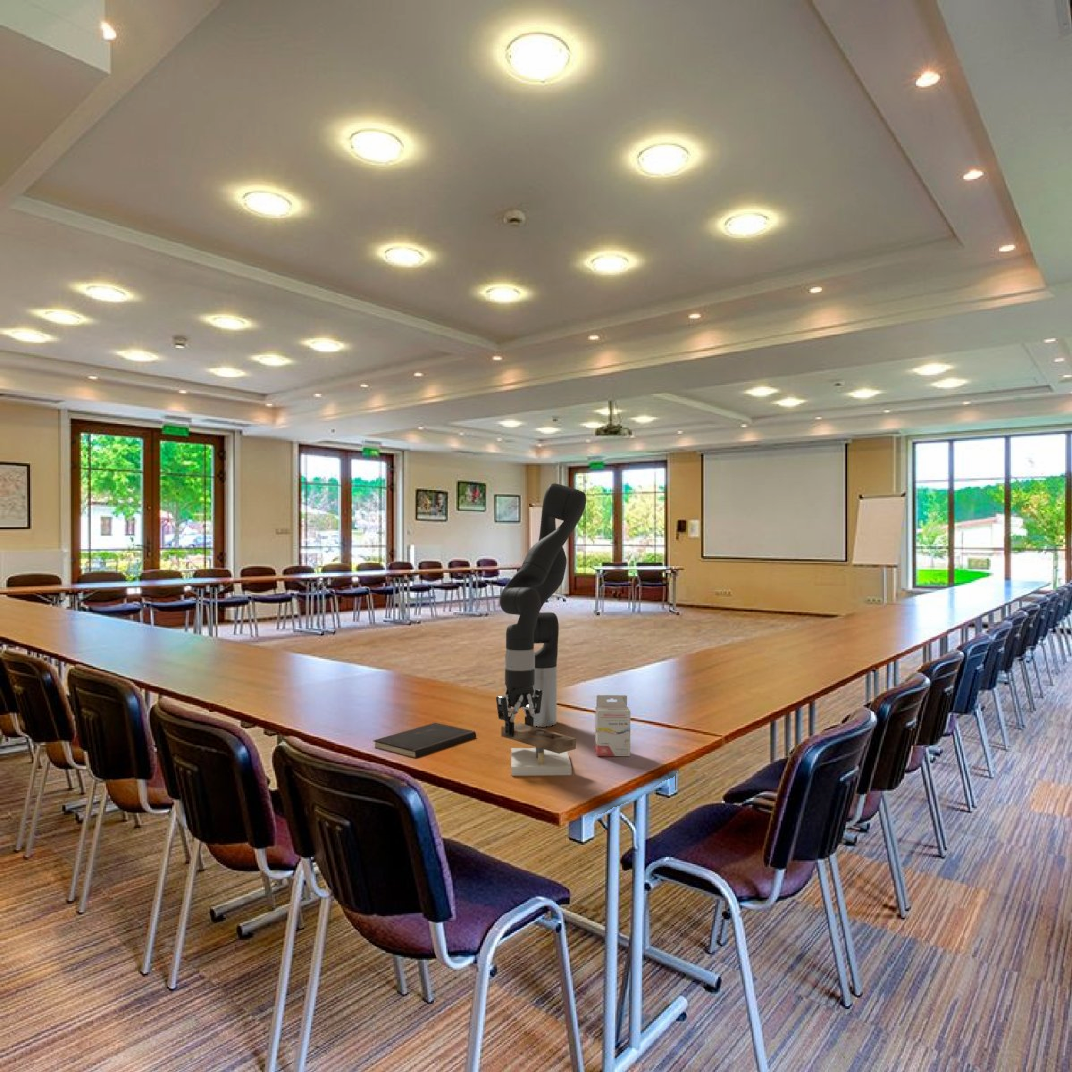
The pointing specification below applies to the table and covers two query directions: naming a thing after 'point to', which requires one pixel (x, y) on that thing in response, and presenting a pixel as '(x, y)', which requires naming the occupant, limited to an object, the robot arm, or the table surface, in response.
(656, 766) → the table surface
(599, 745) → the ink cartridge box
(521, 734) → the walnut bar
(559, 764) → the post base
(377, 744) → the hardcover book
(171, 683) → the table surface
